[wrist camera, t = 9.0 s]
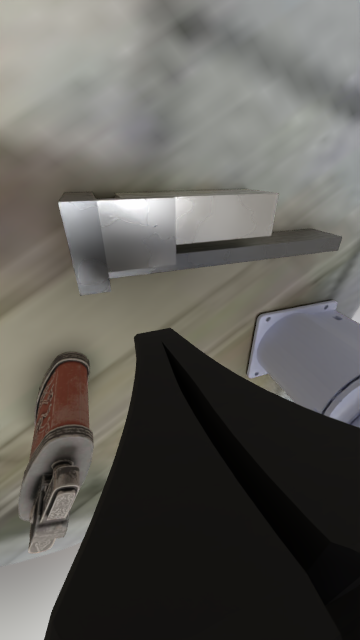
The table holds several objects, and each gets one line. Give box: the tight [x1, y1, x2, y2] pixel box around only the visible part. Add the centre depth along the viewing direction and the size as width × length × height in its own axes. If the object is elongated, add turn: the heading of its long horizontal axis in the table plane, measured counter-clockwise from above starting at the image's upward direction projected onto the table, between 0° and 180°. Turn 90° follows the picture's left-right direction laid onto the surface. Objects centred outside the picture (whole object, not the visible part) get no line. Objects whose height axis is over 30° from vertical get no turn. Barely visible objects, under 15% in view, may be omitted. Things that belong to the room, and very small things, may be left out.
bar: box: [115, 189, 279, 245], centre depth 15 cm, size 9×2×4 cm, turn 90°
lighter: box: [19, 352, 94, 554], centre depth 17 cm, size 8×3×10 cm, turn 153°
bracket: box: [58, 192, 342, 296], centre depth 16 cm, size 18×4×5 cm, turn 90°
